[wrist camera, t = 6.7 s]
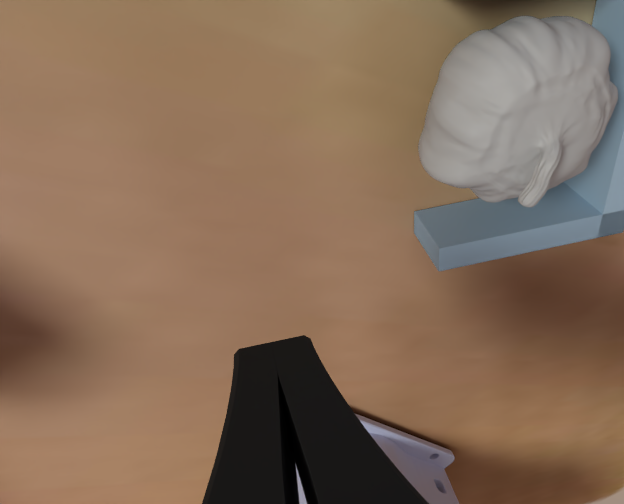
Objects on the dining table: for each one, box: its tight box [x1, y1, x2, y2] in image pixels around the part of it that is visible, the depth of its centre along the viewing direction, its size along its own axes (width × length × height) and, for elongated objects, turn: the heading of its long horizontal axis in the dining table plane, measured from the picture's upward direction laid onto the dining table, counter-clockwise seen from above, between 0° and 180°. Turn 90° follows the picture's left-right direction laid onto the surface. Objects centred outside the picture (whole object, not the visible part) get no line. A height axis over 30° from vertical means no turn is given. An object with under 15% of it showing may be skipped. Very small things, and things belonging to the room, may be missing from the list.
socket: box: [414, 0, 624, 271], centre depth 18 cm, size 7×10×2 cm
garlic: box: [418, 16, 618, 207], centre depth 16 cm, size 6×5×5 cm
